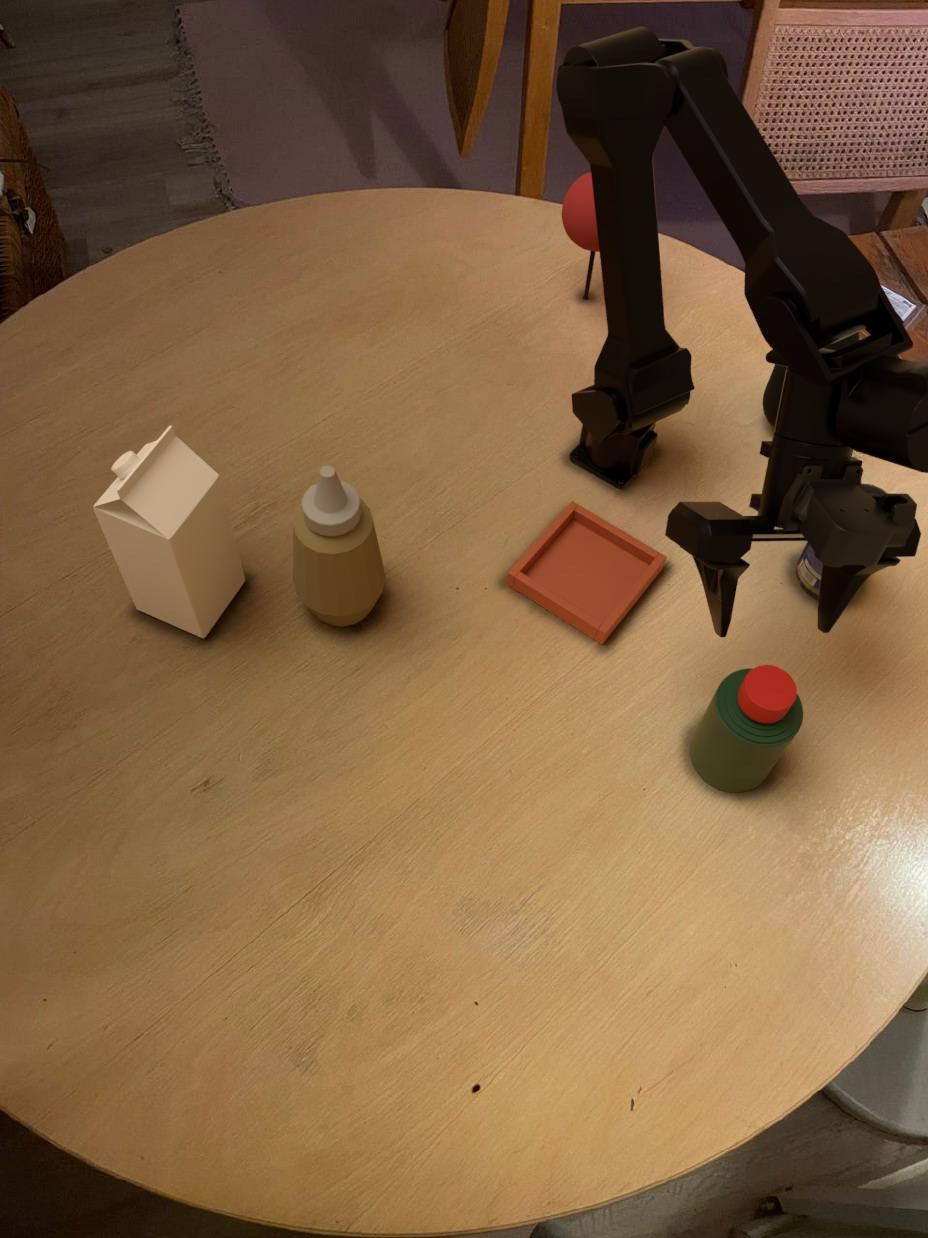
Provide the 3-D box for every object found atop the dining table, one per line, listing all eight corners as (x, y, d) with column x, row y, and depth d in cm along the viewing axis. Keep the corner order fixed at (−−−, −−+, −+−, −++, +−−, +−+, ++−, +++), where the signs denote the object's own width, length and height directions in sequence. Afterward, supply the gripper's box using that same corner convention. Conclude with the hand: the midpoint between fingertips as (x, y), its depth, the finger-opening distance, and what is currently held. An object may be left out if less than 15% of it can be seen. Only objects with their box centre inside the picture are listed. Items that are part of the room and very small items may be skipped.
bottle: (674, 761, 87) (707, 697, 77) (714, 704, 90) (750, 635, 80) (745, 808, 85) (788, 748, 75) (784, 748, 88) (830, 683, 78)
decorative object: (817, 453, 106) (872, 341, 93) (753, 443, 106) (799, 331, 94) (817, 406, 109) (869, 293, 97) (754, 397, 110) (798, 282, 97)
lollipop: (630, 290, 118) (655, 172, 105) (599, 329, 114) (622, 212, 102) (571, 265, 120) (588, 146, 107) (539, 303, 116) (553, 184, 103)
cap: (727, 704, 79) (734, 690, 77) (751, 668, 80) (759, 655, 79) (773, 733, 78) (782, 720, 76) (797, 696, 79) (806, 683, 78)
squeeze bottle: (399, 578, 96) (396, 448, 80) (367, 649, 92) (356, 525, 76) (319, 553, 97) (300, 420, 82) (283, 622, 93) (256, 495, 78)
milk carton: (246, 580, 95) (211, 441, 79) (204, 640, 91) (158, 507, 75) (180, 552, 96) (132, 409, 80) (136, 610, 93) (76, 473, 77)
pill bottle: (858, 610, 96) (906, 539, 86) (792, 597, 96) (832, 526, 87) (858, 557, 99) (904, 483, 90) (794, 545, 99) (833, 470, 90)
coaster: (506, 583, 96) (507, 572, 94) (569, 512, 101) (572, 500, 99) (602, 644, 93) (605, 633, 91) (663, 568, 97) (667, 556, 96)
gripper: (758, 464, 66) (715, 685, 72) (998, 467, 71) (940, 672, 77) (679, 425, 76) (647, 622, 81) (895, 429, 81) (850, 614, 87)
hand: (772, 633), depth 81 cm, fingers open, 9 cm apart
